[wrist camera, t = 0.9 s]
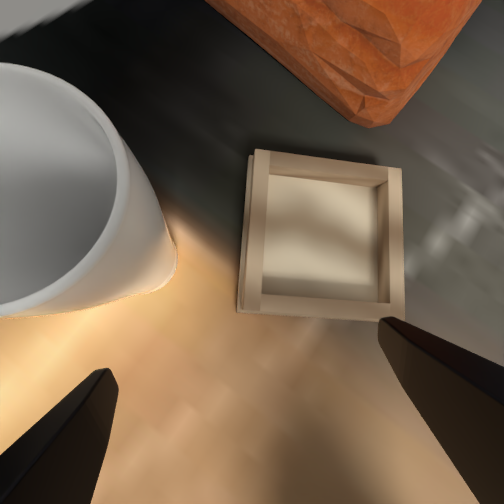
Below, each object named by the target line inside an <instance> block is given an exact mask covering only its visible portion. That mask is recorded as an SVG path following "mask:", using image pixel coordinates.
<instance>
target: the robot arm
mask: <svg viewBox="0 0 504 504" xmlns="http://www.w3.org/2000/svg"><path fill="white" fill-rule="evenodd" d="M378 342H379V344H380V346H381V348H382V350H383V352H384V354H385V356H386V357H387V359H388V361H389V363H390V365H391V367H392V369H393V371H394V373H395V374H396V376H397V378H398V380H399V382H400V384H401V385H402V387H403V389H404V390H405V392H406V393H407V395H408V396H409V398H410V399H411V401H412V402H413V404H414V405H415V407H416V408H417V410H418V411H419V413H420V414H421V416H422V417H423V419H424V420H425V422H426V423H427V425H428V426H429V428H430V430H431V431H432V433H433V434H434V436H435V437H436V439H437V440H438V442H439V443H440V445H441V446H442V448H443V449H444V451H445V452H446V454H447V455H448V457H449V458H450V460H451V461H452V463H453V464H454V466H455V467H456V469H457V470H458V472H459V473H460V475H461V476H462V478H463V479H464V481H465V482H466V484H467V485H468V487H469V488H470V490H471V491H472V493H473V494H474V496H475V497H476V499H477V500H478V502H479V503H480V504H504V367H503V366H501V365H499V364H496V363H494V362H492V361H490V360H488V359H485V358H483V357H481V356H479V355H477V354H474V353H472V352H470V351H468V350H466V349H464V348H461V347H459V346H457V345H455V344H453V343H450V342H448V341H446V340H444V339H442V338H439V337H437V336H435V335H433V334H431V333H429V332H426V331H424V330H422V329H420V328H418V327H415V326H413V325H411V324H409V323H407V322H405V321H402V320H400V319H398V318H396V317H393V316H388V317H382V318H380V319H379V324H378ZM118 392H119V389H118V384H117V382H116V380H115V378H114V376H113V374H112V371H111V370H110V369H109V368H103V369H97V370H95V371H93V372H92V373H91V374H90V375H89V376H88V377H87V378H86V379H84V380H83V381H82V382H81V383H80V384H79V385H78V386H77V387H75V388H74V389H73V390H72V391H71V392H70V393H69V394H68V395H67V396H65V397H64V398H63V399H62V400H61V401H60V402H59V403H58V404H57V405H55V406H54V407H53V408H52V409H51V410H50V411H49V412H48V413H47V414H45V415H44V416H43V417H42V418H41V419H40V420H39V421H38V422H37V423H35V424H34V425H33V426H32V427H31V428H30V429H29V430H28V431H27V432H25V433H24V434H23V435H22V436H21V437H20V438H19V439H18V440H17V441H15V442H14V443H13V444H12V445H11V446H10V447H9V448H8V449H7V450H5V451H4V452H3V453H2V454H1V455H0V504H90V503H91V500H92V497H93V493H94V490H95V487H96V483H97V480H98V477H99V473H100V470H101V467H102V463H103V460H104V457H105V453H106V450H107V446H108V442H109V438H110V433H111V428H112V423H113V418H114V413H115V408H116V403H117V398H118Z"/></svg>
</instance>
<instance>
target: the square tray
mask: <svg viewBox="0 0 504 504" xmlns="http://www.w3.org/2000/svg"><path fill="white" fill-rule="evenodd" d="M236 312H237V313H250V314H266V315H281V316H297V317H312V318H327V319H343V320H358V321H374V322H379V319H380V318H382V317H388V316H393V317H396V318H398V319H400V320H402V321H405V296H404V253H403V210H402V169H399V168H392V167H385V166H377V165H370V164H363V163H356V162H348V161H341V160H334V159H327V158H319V157H312V156H305V155H297V154H290V153H283V152H276V151H268V150H261V149H255V152H254V156H253V155H249V159H248V169H247V182H246V195H245V207H244V220H243V233H242V246H241V258H240V271H239V284H238V297H237V309H236Z"/></svg>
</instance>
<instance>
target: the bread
mask: <svg viewBox="0 0 504 504" xmlns="http://www.w3.org/2000/svg"><path fill="white" fill-rule="evenodd" d="M205 1H206V2H207V3H208V4H209V5H211V6H212V7H213V8H214V9H215V10H216V11H218V12H219V13H220V14H221V15H223V16H224V17H225V18H226V19H228V20H229V21H230V22H231V23H233V24H234V25H235V26H236V27H238V28H239V29H240V30H241V31H243V32H244V33H245V34H246V35H248V36H249V37H250V38H251V39H252V40H254V41H255V42H256V43H257V44H258V45H260V46H261V47H262V48H263V49H264V50H266V51H267V52H268V53H269V54H270V55H272V56H273V57H274V58H275V59H276V60H278V61H279V62H280V63H281V64H282V65H284V66H285V67H286V68H287V69H288V70H289V71H290V72H291V73H293V74H294V75H295V76H296V77H297V78H298V79H299V80H301V81H302V82H303V83H304V84H305V85H306V86H307V87H308V88H310V89H311V90H312V91H313V92H314V93H315V94H316V95H318V96H319V97H320V98H321V99H323V100H324V101H325V102H326V103H327V104H329V105H330V106H331V107H332V108H334V109H335V110H336V111H337V112H339V113H340V114H341V115H342V116H343V117H345V118H346V119H347V120H348V121H351V122H353V123H356V124H358V125H361V126H364V127H366V128H371V127H376V126H381V125H386V124H389V123H390V122H391V121H392V120H393V119H394V117H395V116H396V115H397V114H398V113H399V111H400V110H401V109H402V108H403V107H404V106H405V104H406V103H407V102H408V101H409V100H410V98H411V97H412V96H413V95H414V94H415V92H416V91H417V90H418V89H419V87H420V86H421V85H422V84H423V82H424V81H425V80H426V78H427V77H428V76H429V75H430V73H431V72H432V71H433V69H434V68H435V67H436V65H437V64H438V62H439V61H440V60H441V58H442V57H443V55H444V54H445V53H446V51H447V50H448V48H449V47H450V45H451V44H452V42H453V41H454V39H455V37H456V36H457V35H458V33H459V32H460V31H461V29H462V28H463V26H464V25H465V24H466V22H467V21H468V19H469V18H470V17H471V15H472V14H473V12H474V11H475V10H476V8H477V7H478V5H479V4H480V3H481V1H482V0H205Z"/></svg>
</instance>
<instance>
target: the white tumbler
mask: <svg viewBox="0 0 504 504" xmlns="http://www.w3.org/2000/svg"><path fill="white" fill-rule="evenodd" d="M177 264H178V253H177V248H176V246H175V243H174V241H173V240H172V238H171V236H170V233H169V230H168V227H167V224H166V221H165V218H164V215H163V212H162V209H161V207H160V204H159V201H158V198H157V196H156V194H155V191H154V189H153V187H152V185H151V183H150V181H149V179H148V177H147V176H146V174H145V172H144V170H143V169H142V167H141V165H140V164H139V162H138V161H137V159H136V157H135V156H134V154H133V153H132V151H131V150H130V148H129V147H128V145H127V144H126V142H125V141H124V139H123V138H122V137H121V135H120V134H119V132H118V131H117V130H116V128H115V127H114V125H113V124H112V122H111V121H110V119H109V118H108V117H107V115H106V114H105V113H104V112H103V110H102V109H101V108H100V107H99V106H98V105H97V104H96V103H95V102H94V101H93V100H91V99H90V98H89V97H88V96H87V95H86V94H84V93H83V92H82V91H80V90H79V89H77V88H76V87H74V86H73V85H71V84H69V83H68V82H66V81H64V80H62V79H60V78H58V77H56V76H54V75H51V74H49V73H46V72H43V71H40V70H37V69H34V68H30V67H26V66H21V65H16V64H10V63H0V319H15V318H29V317H41V316H51V315H59V314H66V313H72V312H77V311H82V310H87V309H91V308H95V307H99V306H102V305H106V304H109V303H112V302H116V301H119V300H122V299H125V298H129V297H132V296H135V295H142V294H148V293H152V292H155V291H157V290H159V289H160V288H162V287H163V286H165V285H166V284H167V283H168V282H169V281H170V279H171V278H172V277H173V275H174V273H175V271H176V268H177Z"/></svg>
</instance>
